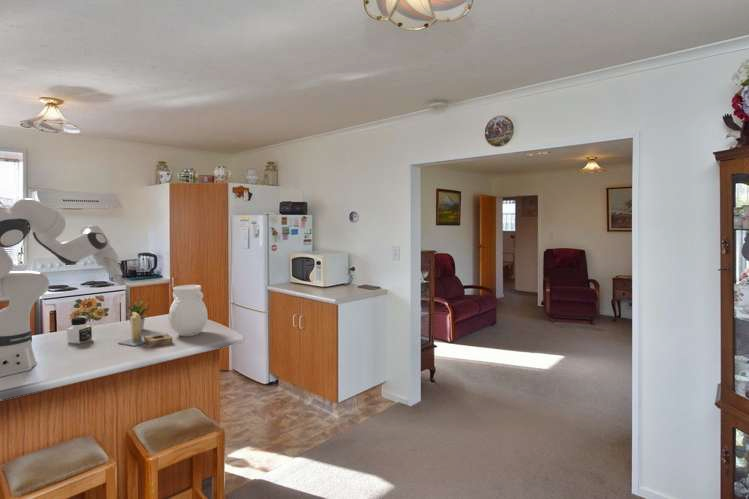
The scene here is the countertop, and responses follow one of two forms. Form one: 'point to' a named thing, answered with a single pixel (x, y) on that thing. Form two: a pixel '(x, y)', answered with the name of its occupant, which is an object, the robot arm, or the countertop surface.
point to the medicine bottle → (79, 331)
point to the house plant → (138, 312)
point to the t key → (135, 327)
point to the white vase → (188, 310)
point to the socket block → (158, 340)
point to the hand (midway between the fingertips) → (122, 284)
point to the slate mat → (130, 343)
